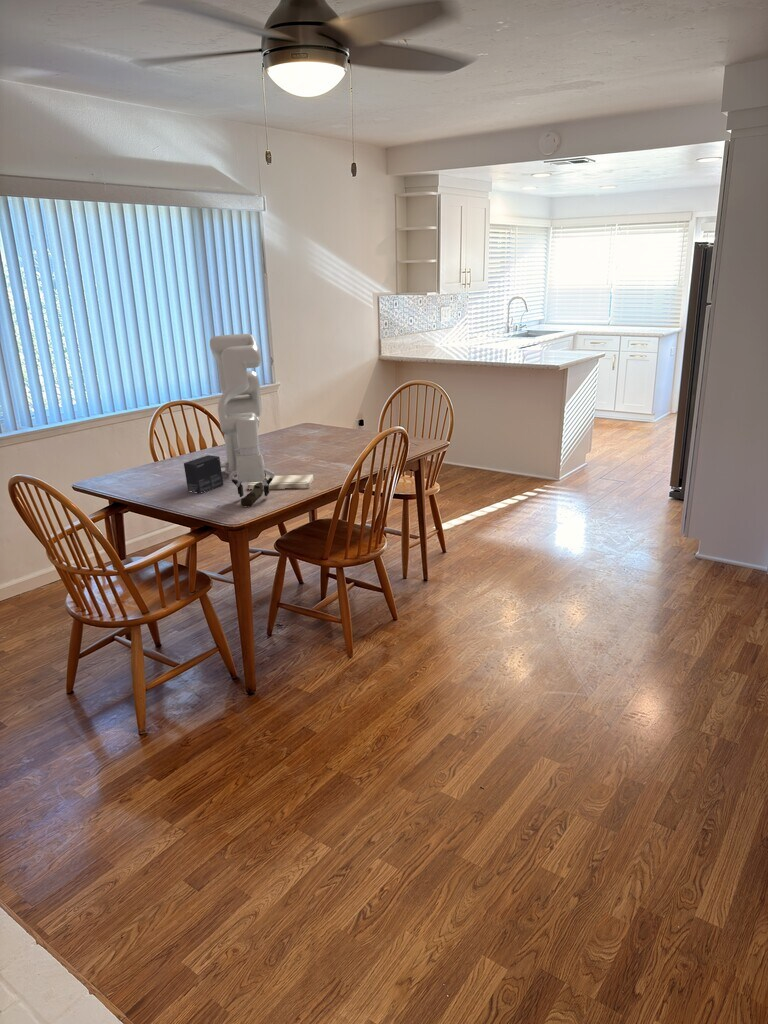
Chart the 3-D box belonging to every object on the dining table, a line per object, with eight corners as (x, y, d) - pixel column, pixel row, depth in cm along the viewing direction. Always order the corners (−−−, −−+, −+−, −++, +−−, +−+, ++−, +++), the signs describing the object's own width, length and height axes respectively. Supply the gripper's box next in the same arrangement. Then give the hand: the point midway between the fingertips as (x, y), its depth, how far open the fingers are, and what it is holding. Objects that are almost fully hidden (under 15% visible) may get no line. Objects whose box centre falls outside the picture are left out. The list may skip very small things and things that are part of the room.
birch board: (248, 489, 276) (247, 484, 275) (254, 481, 288) (254, 476, 287) (309, 488, 275) (308, 482, 274) (313, 479, 286) (313, 474, 286)
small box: (212, 483, 288) (208, 454, 284) (224, 485, 284) (220, 456, 280) (187, 492, 278) (183, 462, 274) (199, 494, 274) (195, 464, 270)
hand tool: (251, 508, 255) (250, 496, 254) (240, 507, 256) (239, 495, 255) (269, 492, 273) (268, 481, 271) (259, 492, 274) (258, 480, 272)
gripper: (223, 454, 255) (228, 499, 261) (270, 452, 254) (275, 498, 260) (228, 449, 263) (233, 493, 268) (274, 447, 262) (278, 492, 267)
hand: (254, 495), depth 264 cm, fingers open, 9 cm apart
